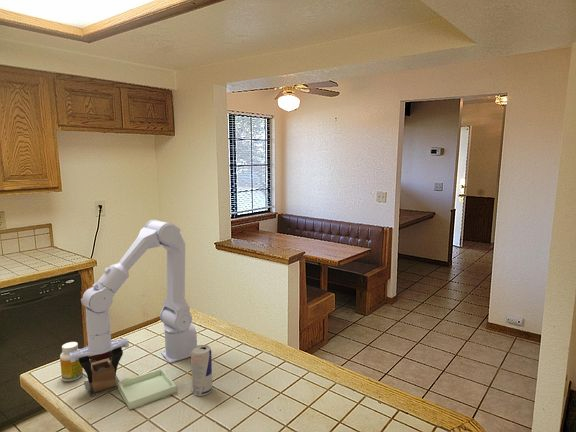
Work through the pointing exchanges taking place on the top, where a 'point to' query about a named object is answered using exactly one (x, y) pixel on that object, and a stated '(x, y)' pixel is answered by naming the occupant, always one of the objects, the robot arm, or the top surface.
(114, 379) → the brown wooden box
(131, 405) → the tray
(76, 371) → the supplement bottle
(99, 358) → the potato
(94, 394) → the light stand
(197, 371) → the energy drink
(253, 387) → the top surface
